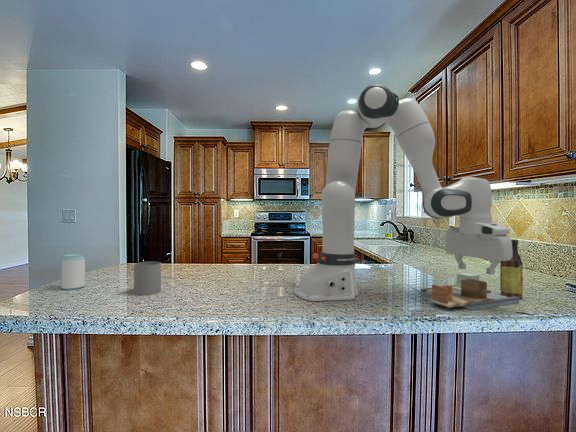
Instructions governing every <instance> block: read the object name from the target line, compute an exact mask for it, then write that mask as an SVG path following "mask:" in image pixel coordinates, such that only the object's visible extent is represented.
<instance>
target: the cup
mask: <svg viewBox="0 0 576 432" xmlns="http://www.w3.org/2000/svg"><path fill="white" fill-rule="evenodd" d="M161 289H162V262H161V261H151V260H149V261H141V262H134V265H133V294H134V295H135V296H141V297H142V296H152V295H157V294H159V293H161V291H162V290H161Z"/></svg>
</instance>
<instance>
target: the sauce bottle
mask: <svg viewBox="0 0 576 432" xmlns="http://www.w3.org/2000/svg"><path fill="white" fill-rule="evenodd" d="M510 239H511V241H512V250H513V256H512V258H511V259H510V260H509V261H499V263H500V266H499V275H500V276H499V282H500V284H499V286H500V287H499V291H500V295H502V296H506V297H515V296H516V297H519V299H522V297H523V292H524V291H523V290H524V289H523V287H524V286H523V284H524V283H523V281H524V280H523V279H524V278H523V277H524V276H523V275H524V274H523V272H524V271H523V261H522V259H521V256H520V254H519V249H518V248H519V247H518V245H519V239H512V238H510Z"/></svg>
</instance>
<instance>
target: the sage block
mask: <svg viewBox="0 0 576 432" xmlns="http://www.w3.org/2000/svg"><path fill="white" fill-rule="evenodd" d="M466 279H474V280H479V281H480V274H475V273H470V272H460V273H459V272H457V273H456V285H457V287H458V288H461V280H466Z"/></svg>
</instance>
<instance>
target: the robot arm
mask: <svg viewBox="0 0 576 432" xmlns="http://www.w3.org/2000/svg"><path fill="white" fill-rule="evenodd" d="M357 104H358V105H357V107H356V108H355V109H352V110H351V109H347V110H342V111H340V112H338V114H337V115H336V116H335V117H334V122H333V125H332V127H331V132H330V138H329V147H328V156H327V164H326V180H325V186H324V188H323V190H322V193H321V220H322V221H321V222H322V251H321V252H320V254H319V253H315V252H314V253H313V255H312V258H313V259H315V260H317V263H316V264H315V265H313V266H311V268H309V270H308V271H306V272H305V273H304V274H302V278H301V280H300V286H299V287H296V288H294V290H293V291H294V292H293V293H294V295H295V296H297V297H298V298H300V299H303V300H305V301H309V302H325V301H326V302H327V301H346V300H347V301H348V300H349V301H352V300H355V299H356V297H357V296H358V295H359V290H358V287H357V282H356V276H355V266H356V253H355V220H356V219H355V217H356V216H355V215H356V211H355V210H356V208H355V207H356V192H357V182H358V176H359V175H358V174H359V168H360V159H361V153H362V152H361V151H362V144H363V136H364V133H365V132H370V131H375V130H378V129H380V128H382V127H383V126H385V124H386V125H388V126H389V128H391V130H392V131H393V134H394V136H395V138H396V141H397V143H398V145H399V146H400V149H401V151H402V152H403V154H404V156H405V157H406V158H407V161H408V162H409V164H410V166H411V168H412V170H413V173H414V174H415V177H416V179H417V183H418V184H419V187H420V190H421V193H422V210H423V211H424V214H426V215H427V216H428V217H430V218H432V219H436V220H441V219H447V218H452V217H455V216H458V217H459V219H458V220H459V226H458V227H456V226H454V227H453V226H451V227H449V228H448V229H447V230H446V236H445V243H444V245H445V246H444V251H445V253H446V254H448V255H454V259H455V261H456V263H457V265H458V266H457V267H458V269H459V270H466V269H467V264H466V263H464V261H463V259H464V257H467V258H468V257H470V258H477V259H484V260H489V264H490V266H489V267H486V268H485V271H486V272H485V273H486V274H487V275H492V276H493V275H495V273H496V268H497V266H498V265H499V263H500V261H509V260H510V259H511V258H512V256H513V250H512V241H511V239H512V238H511V237H510V236H509V235H510V233H511V229H510V228H509V227H507V226H505V225H501V224H498V223H496V222H493V216H492V213H491V211H492V210H491V209H492V206H493V197H492V188H491V184H490V181H489V180H488V179H487V178H484V177H478V176H464V177H462V178H461V179H459V180H458V181H456V182H454V183H452V184H450V185H448V186H445V187H443V186H442V185H441V183H440V181H439V177H438V175H437V172H436V170H435V168H434V164H433V155H434V151H435V147H436V137H435V133H434V129H433V127H432V125H431V123H430V120H429V118H428V116H427V115H426V113H425V110H423V108H422V106H421V105H420V104H419V103H418V101H417V100H416V99H415V98H412V97H405V98H402V99H400V98H399V96H398V95H397V94H396V93H395V92H392V91H391V90H390V88H389V87H387V86H385V85H383V84H380V83H373V84H370V85H368V86H367V87H365V88H364V89H363V91H362V92H361V93H360V95H359V98H358V103H357Z"/></svg>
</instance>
